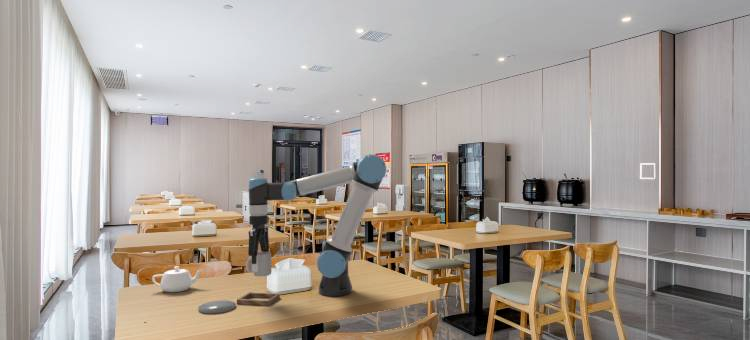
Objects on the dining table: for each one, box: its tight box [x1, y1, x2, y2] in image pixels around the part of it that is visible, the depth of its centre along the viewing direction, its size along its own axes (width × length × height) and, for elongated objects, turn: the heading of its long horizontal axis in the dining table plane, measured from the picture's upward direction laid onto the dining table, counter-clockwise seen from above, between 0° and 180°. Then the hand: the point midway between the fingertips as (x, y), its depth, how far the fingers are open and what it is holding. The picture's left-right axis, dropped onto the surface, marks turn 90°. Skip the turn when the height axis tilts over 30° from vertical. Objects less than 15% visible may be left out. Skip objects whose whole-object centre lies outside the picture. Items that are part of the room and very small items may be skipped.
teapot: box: [151, 265, 203, 293], centre depth 199 cm, size 22×14×11 cm, turn 109°
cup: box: [246, 251, 272, 277], centre depth 181 cm, size 7×10×9 cm
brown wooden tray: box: [236, 291, 281, 307], centre depth 181 cm, size 14×11×2 cm
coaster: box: [197, 300, 237, 315], centre depth 171 cm, size 14×14×1 cm
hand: (259, 269), depth 181 cm, fingers closed on cup, 7 cm apart
